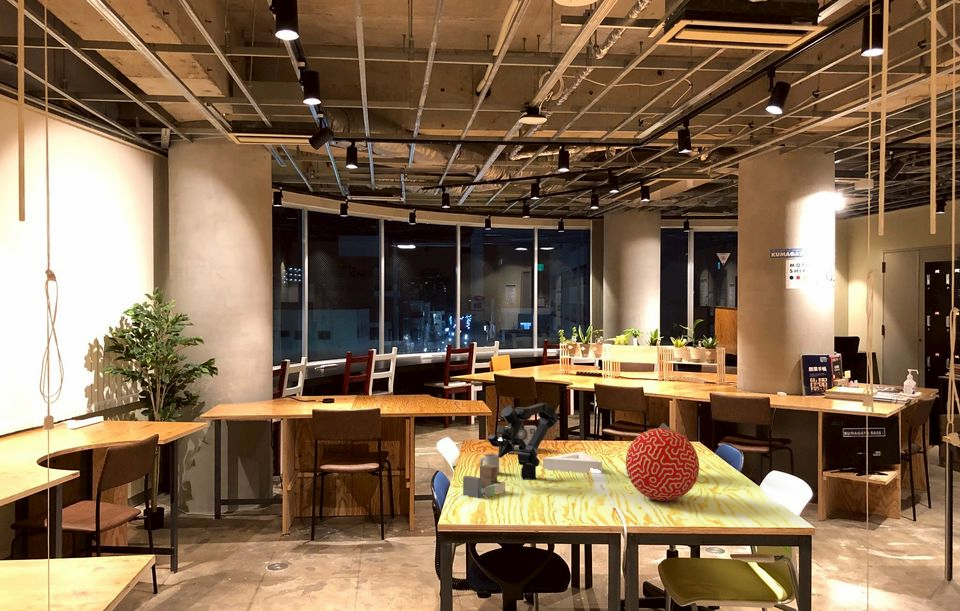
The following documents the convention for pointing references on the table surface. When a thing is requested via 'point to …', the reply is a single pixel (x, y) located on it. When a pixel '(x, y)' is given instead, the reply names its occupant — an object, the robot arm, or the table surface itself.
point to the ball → (662, 464)
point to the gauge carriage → (488, 475)
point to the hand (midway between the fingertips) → (499, 457)
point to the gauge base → (493, 489)
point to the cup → (490, 460)
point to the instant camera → (525, 436)
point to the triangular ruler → (572, 462)
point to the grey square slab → (472, 486)
